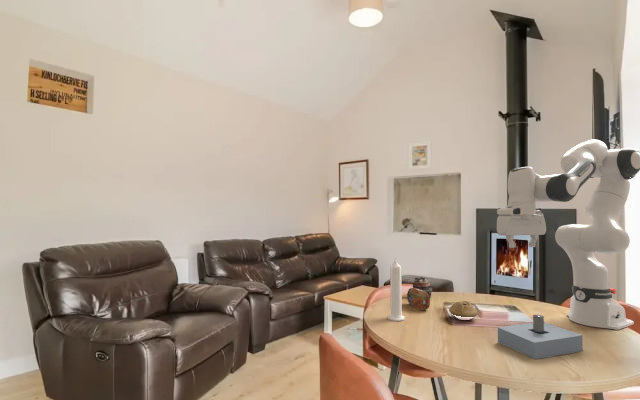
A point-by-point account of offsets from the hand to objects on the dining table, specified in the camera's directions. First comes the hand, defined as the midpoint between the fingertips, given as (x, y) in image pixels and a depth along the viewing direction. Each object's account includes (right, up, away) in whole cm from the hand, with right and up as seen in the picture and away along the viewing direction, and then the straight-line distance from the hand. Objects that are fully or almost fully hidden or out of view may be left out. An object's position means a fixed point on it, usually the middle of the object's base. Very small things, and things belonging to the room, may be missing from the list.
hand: (522, 247), depth 127 cm
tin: (-30, -32, +31) cm, 54 cm away
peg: (-3, -31, -14) cm, 34 cm away
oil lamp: (-15, -32, +15) cm, 39 cm away
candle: (-44, -32, +15) cm, 56 cm away
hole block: (-3, -31, -14) cm, 34 cm away
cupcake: (-22, -33, +49) cm, 63 cm away
